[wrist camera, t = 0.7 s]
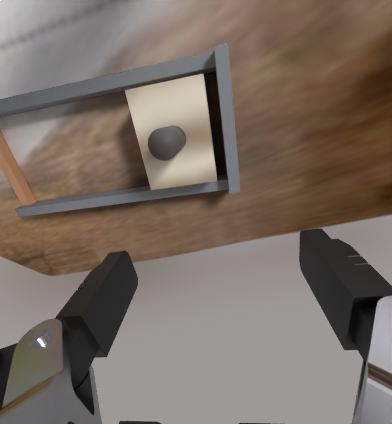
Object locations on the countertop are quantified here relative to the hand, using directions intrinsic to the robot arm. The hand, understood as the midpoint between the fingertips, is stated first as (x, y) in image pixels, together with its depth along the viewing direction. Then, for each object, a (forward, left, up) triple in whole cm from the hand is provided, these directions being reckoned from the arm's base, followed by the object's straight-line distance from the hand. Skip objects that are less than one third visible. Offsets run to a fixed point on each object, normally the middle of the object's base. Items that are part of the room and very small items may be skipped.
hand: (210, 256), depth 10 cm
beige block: (-4, -4, -25) cm, 26 cm away
